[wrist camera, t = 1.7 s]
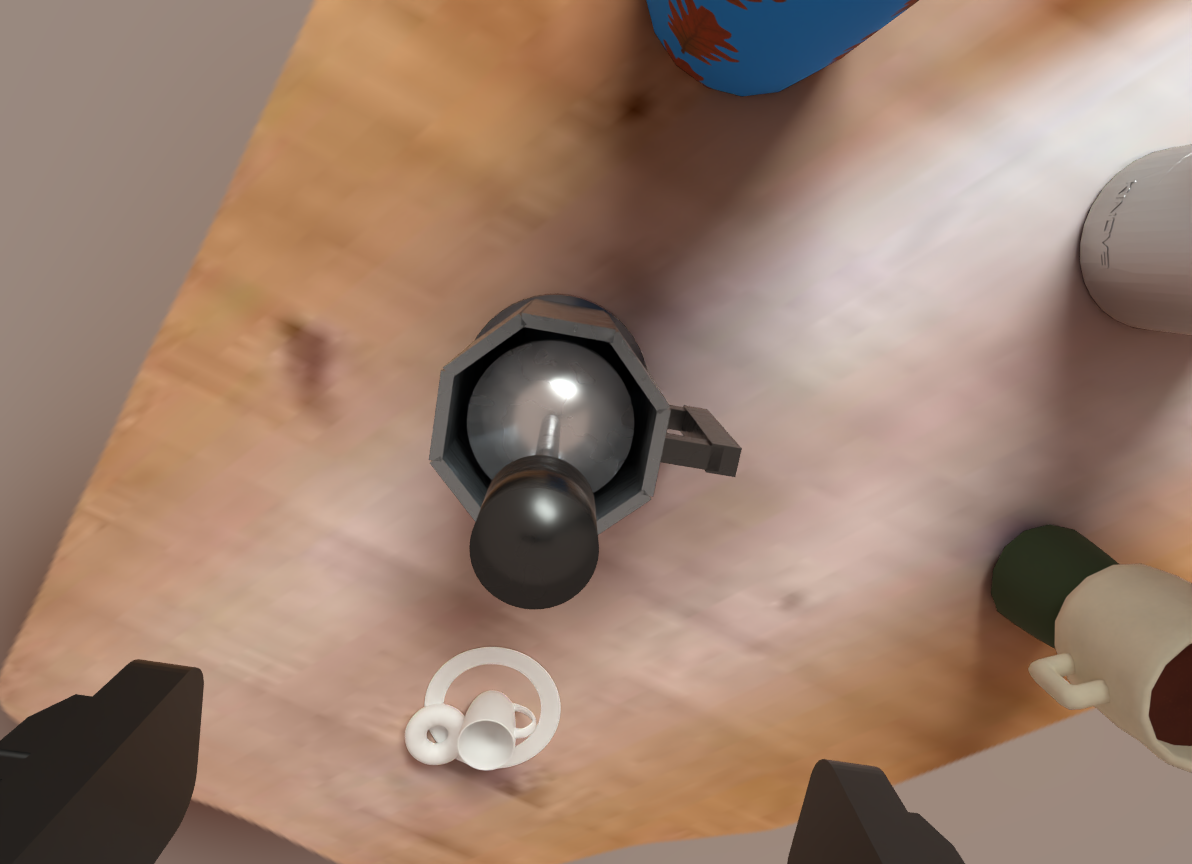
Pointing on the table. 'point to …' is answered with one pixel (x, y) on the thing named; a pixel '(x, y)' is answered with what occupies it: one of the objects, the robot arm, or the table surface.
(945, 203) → the table surface
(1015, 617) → the character mug
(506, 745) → the teacup and saucer
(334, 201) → the table surface
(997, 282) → the table surface
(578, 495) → the plunger
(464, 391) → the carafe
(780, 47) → the thermos
